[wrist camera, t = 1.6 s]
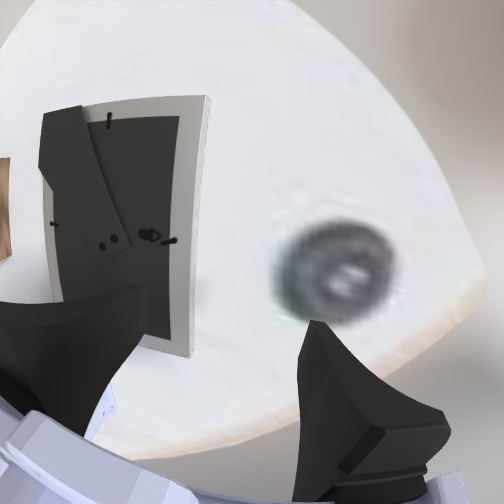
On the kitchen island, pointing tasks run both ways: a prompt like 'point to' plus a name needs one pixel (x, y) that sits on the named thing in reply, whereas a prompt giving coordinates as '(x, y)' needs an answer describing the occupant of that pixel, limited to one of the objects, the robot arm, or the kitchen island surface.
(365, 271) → the kitchen island surface
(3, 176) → the walnut bookend
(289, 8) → the kitchen island surface
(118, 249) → the picture frame
